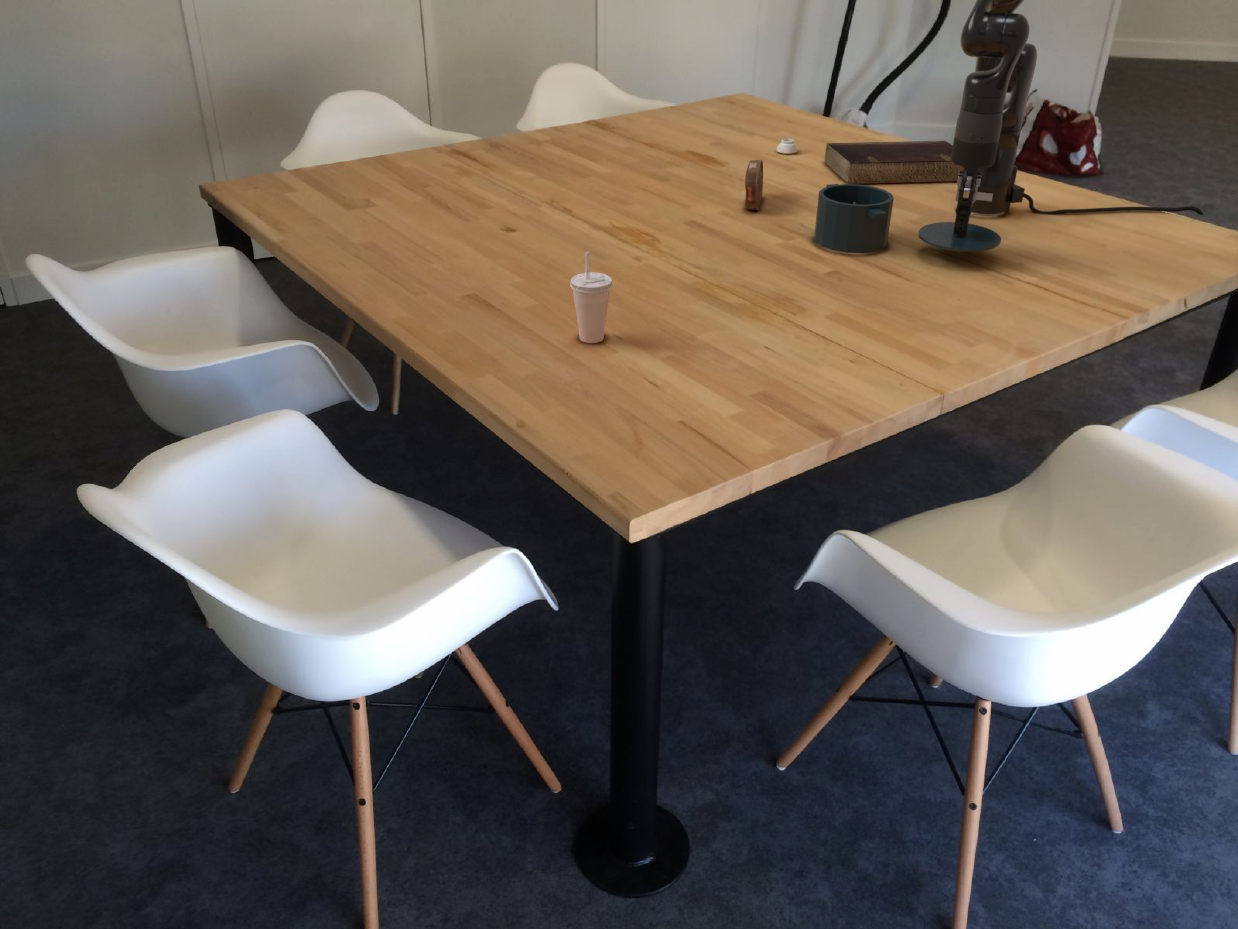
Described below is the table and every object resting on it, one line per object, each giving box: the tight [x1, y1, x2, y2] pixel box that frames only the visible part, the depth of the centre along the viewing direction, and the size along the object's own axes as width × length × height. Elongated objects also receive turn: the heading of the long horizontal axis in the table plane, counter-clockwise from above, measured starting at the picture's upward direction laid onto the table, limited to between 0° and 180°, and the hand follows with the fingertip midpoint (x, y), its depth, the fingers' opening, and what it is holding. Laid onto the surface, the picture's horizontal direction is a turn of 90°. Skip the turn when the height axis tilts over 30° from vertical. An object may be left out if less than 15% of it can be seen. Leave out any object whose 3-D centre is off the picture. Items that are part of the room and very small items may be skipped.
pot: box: [813, 183, 894, 254], centre depth 202 cm, size 14×19×10 cm
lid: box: [917, 213, 1002, 253], centre depth 193 cm, size 15×15×6 cm
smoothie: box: [570, 251, 613, 344], centre depth 162 cm, size 6×6×14 cm
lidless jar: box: [776, 138, 798, 155], centre depth 260 cm, size 5×3×5 cm
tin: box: [744, 159, 764, 211], centre depth 223 cm, size 15×3×8 cm, turn 168°
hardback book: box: [824, 140, 964, 184], centre depth 245 cm, size 29×19×5 cm, turn 97°
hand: (960, 231), depth 194 cm, fingers closed on lid, 2 cm apart
